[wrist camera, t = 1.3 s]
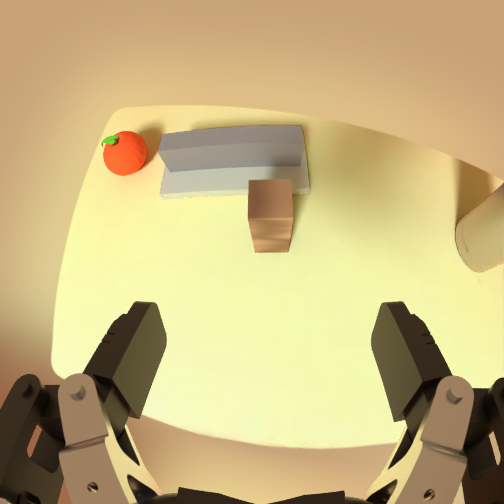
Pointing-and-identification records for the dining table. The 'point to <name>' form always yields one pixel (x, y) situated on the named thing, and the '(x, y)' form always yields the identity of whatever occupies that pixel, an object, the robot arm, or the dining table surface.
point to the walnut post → (270, 214)
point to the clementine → (124, 153)
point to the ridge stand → (232, 160)
